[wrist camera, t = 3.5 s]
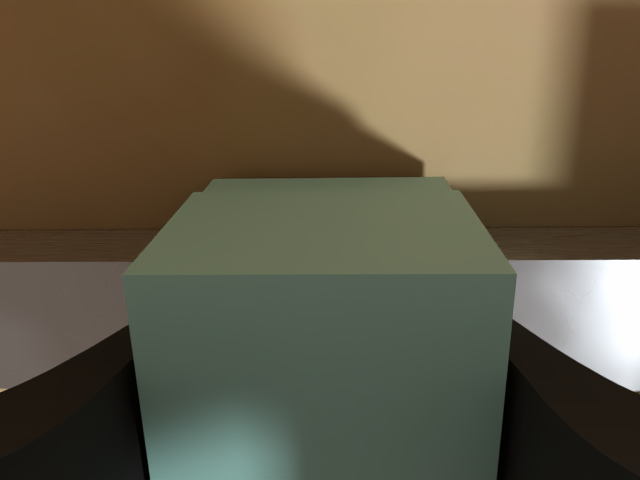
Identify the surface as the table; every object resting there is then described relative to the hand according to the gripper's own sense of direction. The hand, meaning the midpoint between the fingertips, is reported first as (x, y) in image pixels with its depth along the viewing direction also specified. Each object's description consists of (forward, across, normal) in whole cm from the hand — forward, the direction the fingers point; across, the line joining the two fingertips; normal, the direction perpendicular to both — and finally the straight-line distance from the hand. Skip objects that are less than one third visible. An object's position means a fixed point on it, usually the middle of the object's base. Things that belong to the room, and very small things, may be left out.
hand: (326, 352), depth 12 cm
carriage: (+3, 0, 0) cm, 3 cm away
